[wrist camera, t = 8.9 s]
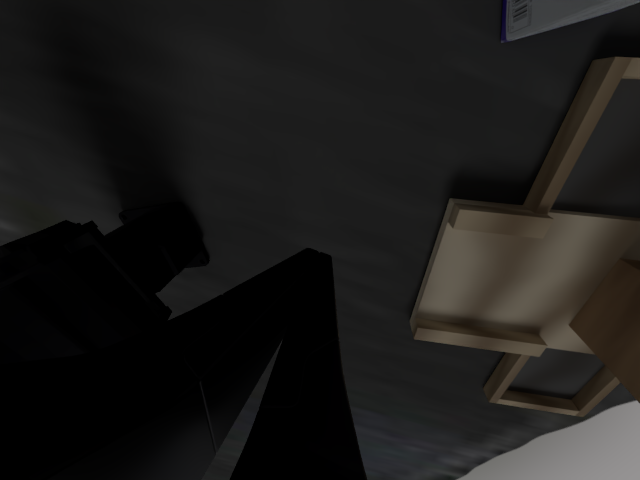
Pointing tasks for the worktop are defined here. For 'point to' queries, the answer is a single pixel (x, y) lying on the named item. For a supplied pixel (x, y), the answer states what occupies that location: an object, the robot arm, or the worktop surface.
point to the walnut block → (615, 323)
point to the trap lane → (544, 254)
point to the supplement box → (551, 14)
